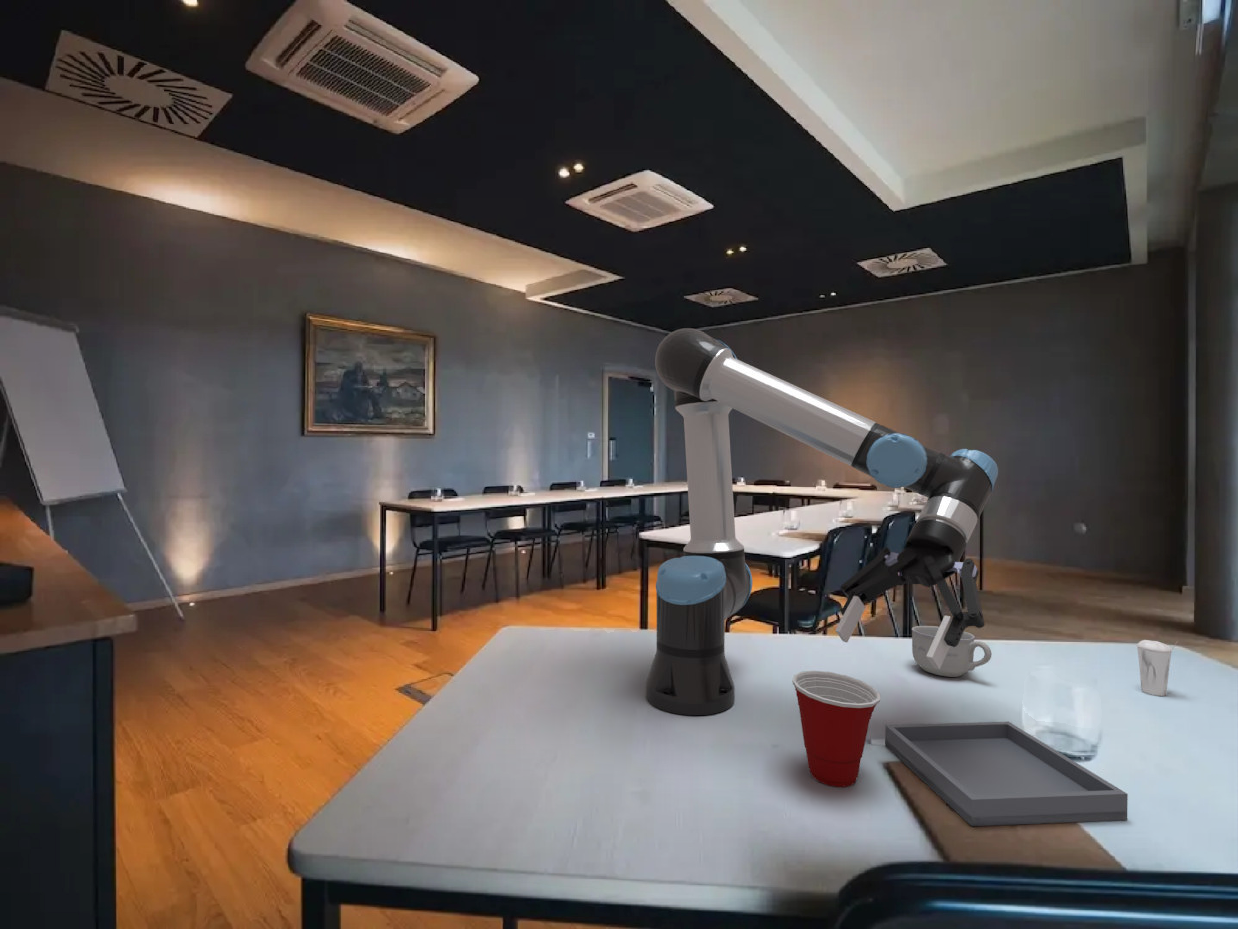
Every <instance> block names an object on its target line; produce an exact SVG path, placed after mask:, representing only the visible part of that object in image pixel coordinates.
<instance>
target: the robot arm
mask: <svg viewBox="0 0 1238 929" xmlns="http://www.w3.org/2000/svg"><path fill="white" fill-rule="evenodd" d="M654 359H655V360H654V362H655V363H654V365H655V369H656V374H657V376H658V377H659V378H660V380H661V382H662V383H663V384H664V385H665V386H666V387H668V388H669V389H670V390H673V392H674V406H675V407H674V408H675V410H676V411H677V412H678V413H679V414H680V415H681V416H682V417H683V427H684V428H683V430H684V443H685V444H684V445H685V460H686V461H685V462H686V464H685V465H686V480H687V494H688V495H687V496H688V497H687V498H688V500H687V501H688V514H689V515H688V516H689V532H690V540H689V541H688V543H687V544H685V546H684V547H683V555H682V556H680V557H674V558H670V559H668V560H666V561H664V562H663V563H661V564H660V566H659V567H658V570H657V573H656V574H657V575H656V577H657V578H656V582H655V592H656V651H655V654H654V657H653V661H652V663H651V667H650V671H649V673H648V675H647V679H646V682H645V685H646V686H645V697H646V700H647V701H648V702H649V703H650V704H651V705H652V706H654V707H655V708H658V709H660V710H662V711H665V712H669V713H672V714H677V715H678V714H679V715H687V716H705V715H707V716H708V715H715V714H718V713H721V712H724V711H726V710H728V709H730V708H731V707H732V706H734V704H735V698H736V696H735V694H736V691H735V690H736V689H735V684H734V680H733V677H732V673H731V671H730V668H729V664H728V661H727V658H726V654H725V642H726V641H725V638H726V637H725V634H726V632H725V630H726V627H725V625H726V624H725V623H726V622H725V621H726V620H728V618H730V617H731V616H733V615H735V614H736V613H738V612H739V611H740V610H741V609H742V608H743V607H744V606H745V605H746V603H747V601H748V600H749V598H750V596H751V594H752V590H753V575H752V571H751V570H750V567H749V566H748V564H747V563H746V558H745V546H744V545H743V544H742V543H741V542H740V541H739V540H738V539H737V537H736V526H735V523H736V522H735V508H734V506H735V504H734V490H733V473H732V458H731V457H732V454H731V453H732V452H731V441H730V440H731V436H730V423H729V421H730V420H729V414H730V412H732V410H735V411H738V412H740V413H742V414H744V415H746V416H748V417H750V418H752V419H754V420H756V421H758V422H760V423H762V424H764V425H766V426H769V427H770V428H772V429H775V430H776V431H778V432H780V433H783V434H785V435H786V436H789V437H791V438H793V439H795V440H797V441H799V442H801V443H803V444H805V445H807V446H809V447H811V448H813V449H815V450H816V451H819V452H821V453H823V454H824V455H825V454H826V455H827V456H830V457H831V458H833V459H836V460H838V461H839V462H841V463H844V464H846V465H847V466H850V467H851V468H854V469H855V470H857V471H859V472H861V473H864V474H865V475H867V476H869V477H872V478H873V479H874V480H875V481H876V482H877V483H879V484H881V485H884V486H886V487H889V488H893V489H900V488H904V489H907V490H910V491H912V492H913V493H915V494H918V495H920V496H922V497H925V498H927V500H926V502H925V503H924V506H923V507H922V509H921V511H920V513H919V515H918V517H917V519H916V523H914V525H913V527H912V528H911V531H910V533H909V534H908V536H907V539H906V543H905V547H904V549H903V550H902V551H901V552H899V553H897V552H893V551H891V550H890V548H889V547H883V548H882V549H881V550H880V551H879V553H878V554H877V556H876V557H875V558H874V559H872V560H871V561H870V562H869V563H867V564H866V565H865V566H864V567H863V568H861V569H860V570H858V571H857V572H856V573H855V574H854V575H852V576H851V577H850V578H849V579H848V580H846V581H845V582H844V583H842V585H841V586H840V589H841V590H842V592H843V593H844V595H845V596H846V597H847V599H846V602H845V603H844V605H843V607H842V608H841V615H842V616H841V619H840V621H839V622H838V625H837V626H836V627H835V630H834V631H835V633H836V634H837V635H838V636H839V638H840V640H841V641H842V642H843V643H848V642H849V640H850V638H851V636H852V634H853V632H854V630H855V629H856V627H857V625H858V623H859V621H860V619H861V617H862V615H863V614H864V611H865V610H866V606H865V605H864V603H866V602H868V601H870V600H872V599H873V598H876V597H878V596H879V595H881V594H884V593H885V592H887V591H889V590H890V589H893V588H895V587H896V586H903V585H905V584H907V583H908V584H910V585H921V586H923V587H926V588H931V587H932V586H937V588H938V590H939V592H940V594H941V596H942V598H943V600H944V601H945V603H946V606H947V608H948V609H949V612H950V614H951V615H952V617H951V616H950V615H946V614H945V615H944V616H943V618H942V621H941V623H940V625H939V626H938V627H939V629H938V631H937V634H936V636H935V638H934V640H933V642H932V645H931V647H930V649H929V651H928V653H927V658H928V659H929V661H930V663H931V664H932V666H933V667H934V668H936V669H939V670H940V668H941V666H942V663H943V661H944V659H945V656H946V654H947V652H948V650H949V647H950V646H953V647H956V646H957V645H958V643H959V640H960V639H961V636H962V634H963V632H965V630H966V629H967V628H968V627H975V628H977V629H981V628H983V627H984V626H985V624H986V623H985V619H984V614H983V610H982V609H983V608H982V606H981V599H980V595H979V590H978V585H977V580H978V577H979V575H980V574H979V570H978V568H977V566H976V564H975V562H974V560H973V559H972V558H966V559H964V560H963V561H962V562H961V561H960V560H961V558H962V556H963V555H964V554H963V553H964V551H965V550H966V547H967V543H968V542H969V540H970V538H971V536H972V534H973V531H974V530H975V528H976V525H977V524H978V521H979V520H980V516H981V515H982V513H983V510H984V509H985V506H986V505H987V502H988V500H989V498H990V496H991V495H992V492H993V491H994V486H995V483H996V481H997V478H998V475H999V467H998V465H997V463H996V461H995V460H994V459H993V458H992V457H991V456H989V455H988V454H986V453H985V452H983V451H980V450H977V449H972V450H971V449H968V448H960V449H958V450H956V451H954V452H952V453H951V455H948V454H946V453H942V452H939V451H937V450H934V449H932V448H929V447H928V446H926V445H923V444H921V442H919V440H918V439H916V438H915V437H912V436H910V435H907V434H905V433H900V432H899V431H897V430H894V429H892V428H889V427H887V426H885V425H882V424H880V423H877V422H876V421H874V420H871V419H869V418H867V417H865V416H863V415H862V414H859V413H856V412H854V411H853V410H849V409H848V408H846V407H843V406H841V405H839V404H837V403H834V402H832V401H829V400H828V399H825V398H823V397H821V396H819V395H818V394H817V395H816V394H815V393H812V392H810V391H807V390H805V389H803V388H802V387H799V386H797V385H795V384H792V383H791V382H788V381H786V380H783V379H782V378H780V377H777V376H775V375H772V374H770V373H768V372H765V371H764V370H761V369H759V368H757V367H755V366H752V365H750V364H748V363H746V362H744V361H742V360H740V359H738V358H737V356H736V354H735V353H734V351H733V350H732V349H731V348H730V346H729V345H727V344H725V343H724V342H723V341H721V340H719V339H715V338H713V337H712V336H710V335H709V334H707V333H706V332H704V331H702V330H700V329H695V328H691V327H687V328H680V329H676V330H674V331H671V332H670V333H669V334H667V335H666V336H665V337H664V338H663V339H662V341H661V342H660V343H659V345H658V346H657V349H656V352H655V357H654ZM899 571H900V573H901V576H900V575H899V573H898V572H899ZM956 573H958V575H959V577H960V578H961V582H962V587H963V593H964V594H963V595H964V599H965V604H966V608H967V611H964V612H963V611H962V609H961V607H960V605H959V604H958V602H957V599H956V598H955V596H954V594H953V592H952V590H951V588H950V586H949V585H948V583H947V581H946V579H947V578H949V577H952V576H953V575H954V574H956Z"/></svg>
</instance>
